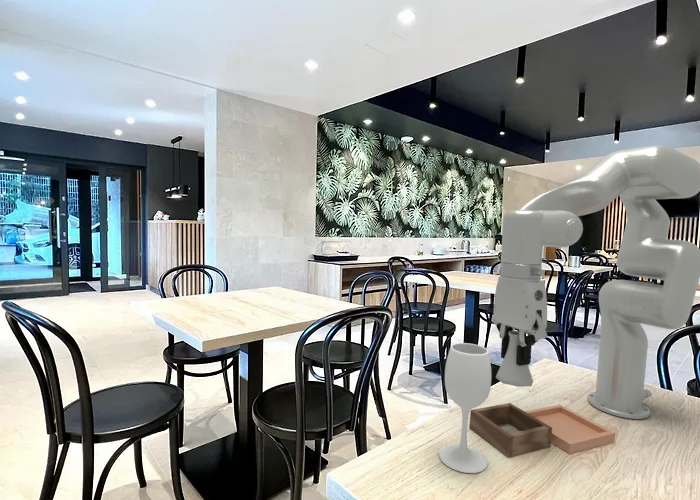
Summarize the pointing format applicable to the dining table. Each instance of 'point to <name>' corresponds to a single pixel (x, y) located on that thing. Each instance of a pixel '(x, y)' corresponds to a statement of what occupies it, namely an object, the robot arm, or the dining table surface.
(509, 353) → the flask
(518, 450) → the frame
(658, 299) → the robot arm
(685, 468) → the dining table surface
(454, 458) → the wineglass
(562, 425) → the terracotta tray
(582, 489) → the dining table surface
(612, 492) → the dining table surface
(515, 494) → the dining table surface
